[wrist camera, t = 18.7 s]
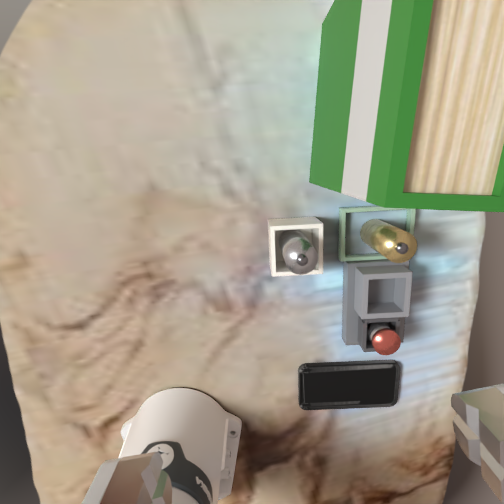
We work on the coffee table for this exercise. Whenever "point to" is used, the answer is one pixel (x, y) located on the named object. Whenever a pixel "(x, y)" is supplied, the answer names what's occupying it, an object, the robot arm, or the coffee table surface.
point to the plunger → (383, 338)
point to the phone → (348, 384)
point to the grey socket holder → (374, 298)
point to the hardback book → (412, 104)
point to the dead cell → (297, 252)
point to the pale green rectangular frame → (342, 211)
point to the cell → (389, 240)
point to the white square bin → (308, 227)
